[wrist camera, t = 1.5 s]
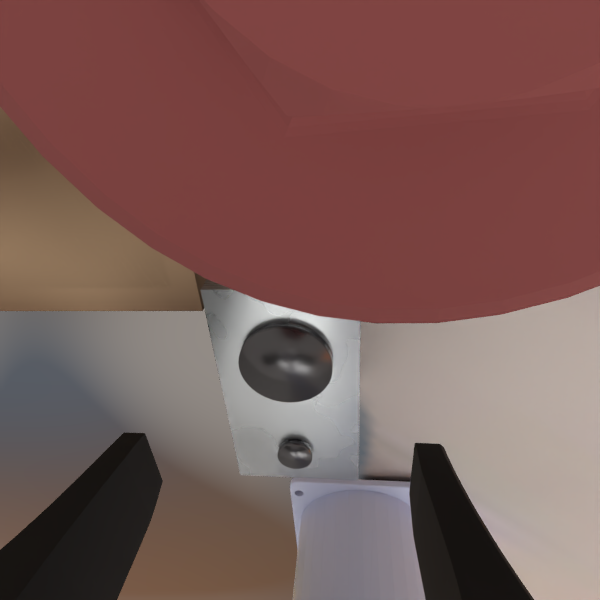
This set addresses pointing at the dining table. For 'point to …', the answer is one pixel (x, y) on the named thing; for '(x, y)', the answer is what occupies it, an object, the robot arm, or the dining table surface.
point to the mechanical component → (329, 143)
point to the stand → (74, 246)
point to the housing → (286, 386)
